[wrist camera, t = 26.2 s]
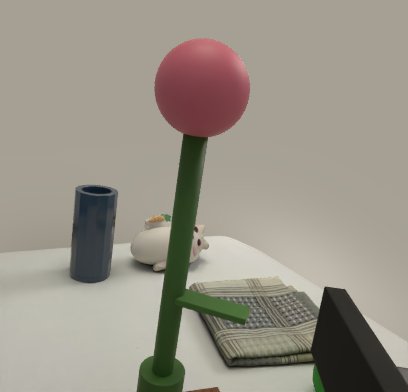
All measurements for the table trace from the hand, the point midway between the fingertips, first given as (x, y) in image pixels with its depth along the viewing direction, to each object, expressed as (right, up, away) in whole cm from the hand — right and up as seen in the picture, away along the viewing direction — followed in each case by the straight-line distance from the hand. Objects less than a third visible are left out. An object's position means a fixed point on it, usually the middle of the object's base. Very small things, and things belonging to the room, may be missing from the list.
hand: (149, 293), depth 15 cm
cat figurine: (-4, -9, +56) cm, 57 cm away
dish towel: (+11, -15, +41) cm, 45 cm away
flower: (-1, -19, +13) cm, 23 cm away
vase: (-16, -9, +47) cm, 51 cm away
